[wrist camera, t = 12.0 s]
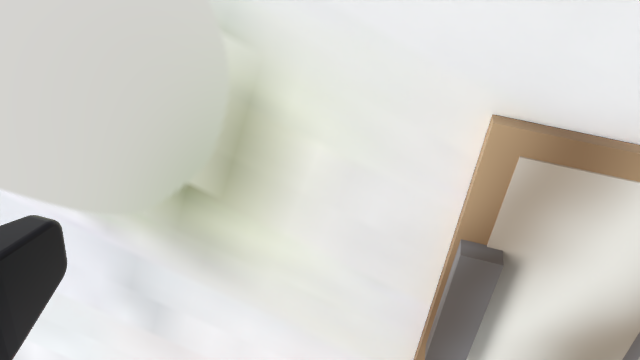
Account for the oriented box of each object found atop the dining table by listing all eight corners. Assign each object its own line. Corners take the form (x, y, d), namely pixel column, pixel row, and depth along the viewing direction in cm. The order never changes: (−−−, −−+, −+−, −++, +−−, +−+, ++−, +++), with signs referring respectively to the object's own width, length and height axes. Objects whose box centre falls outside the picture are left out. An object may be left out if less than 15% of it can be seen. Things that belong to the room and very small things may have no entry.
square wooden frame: (1008, 222, 17) (1055, 255, 16) (738, 493, 26) (753, 531, 25) (492, 114, 19) (493, 135, 18) (400, 399, 28) (396, 429, 27)
